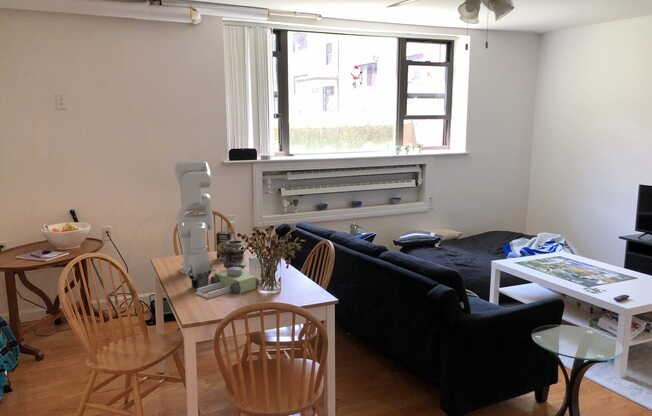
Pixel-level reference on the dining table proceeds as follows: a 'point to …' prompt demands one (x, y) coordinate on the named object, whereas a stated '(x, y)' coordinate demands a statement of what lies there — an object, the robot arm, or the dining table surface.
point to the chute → (201, 280)
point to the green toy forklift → (229, 283)
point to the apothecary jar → (234, 254)
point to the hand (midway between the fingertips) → (200, 285)
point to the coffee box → (223, 243)
